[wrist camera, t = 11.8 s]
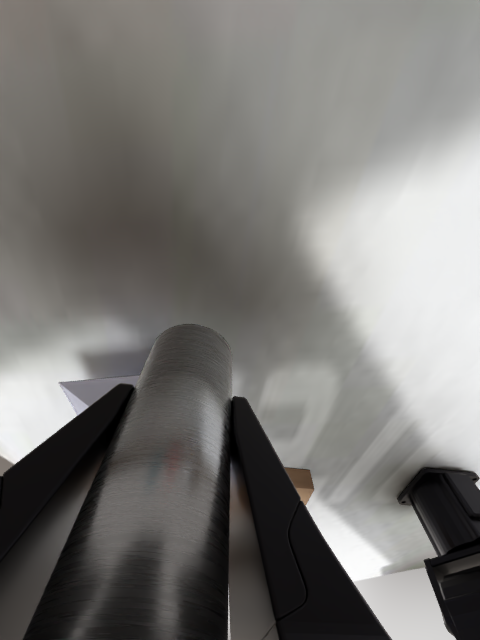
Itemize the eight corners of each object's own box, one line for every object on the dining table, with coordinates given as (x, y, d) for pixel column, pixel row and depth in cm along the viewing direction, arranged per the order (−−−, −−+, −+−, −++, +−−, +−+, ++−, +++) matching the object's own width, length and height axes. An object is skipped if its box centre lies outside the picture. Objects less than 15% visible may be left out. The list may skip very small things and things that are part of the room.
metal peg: (226, 391, 11) (210, 761, 4) (151, 382, 11) (7, 765, 4) (238, 330, 10) (244, 744, 3) (152, 318, 9) (-73, 747, 3)
